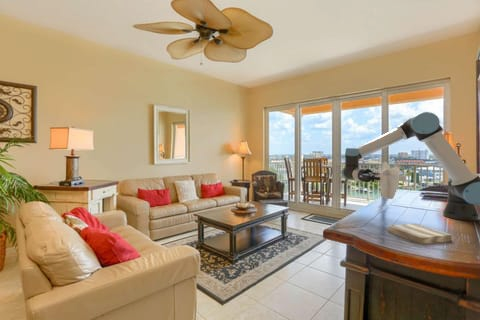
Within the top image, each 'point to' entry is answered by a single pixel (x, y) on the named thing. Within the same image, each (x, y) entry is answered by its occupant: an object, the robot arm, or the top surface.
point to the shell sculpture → (389, 181)
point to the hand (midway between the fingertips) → (396, 179)
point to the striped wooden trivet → (419, 233)
